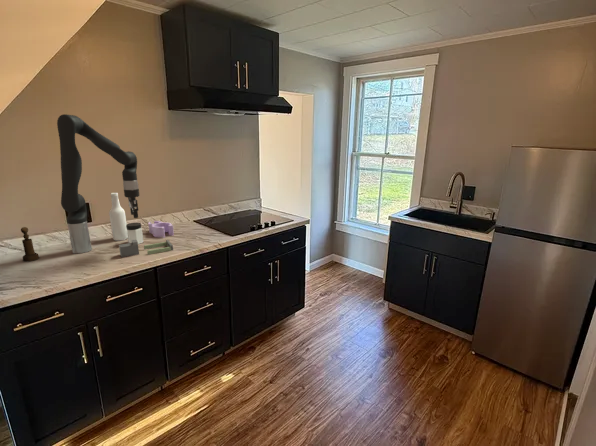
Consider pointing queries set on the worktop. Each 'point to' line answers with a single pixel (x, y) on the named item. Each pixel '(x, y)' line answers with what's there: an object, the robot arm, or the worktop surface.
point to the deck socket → (169, 248)
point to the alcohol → (117, 219)
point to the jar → (134, 232)
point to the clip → (160, 228)
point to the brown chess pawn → (28, 247)
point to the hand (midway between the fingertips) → (134, 216)
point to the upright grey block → (129, 249)
